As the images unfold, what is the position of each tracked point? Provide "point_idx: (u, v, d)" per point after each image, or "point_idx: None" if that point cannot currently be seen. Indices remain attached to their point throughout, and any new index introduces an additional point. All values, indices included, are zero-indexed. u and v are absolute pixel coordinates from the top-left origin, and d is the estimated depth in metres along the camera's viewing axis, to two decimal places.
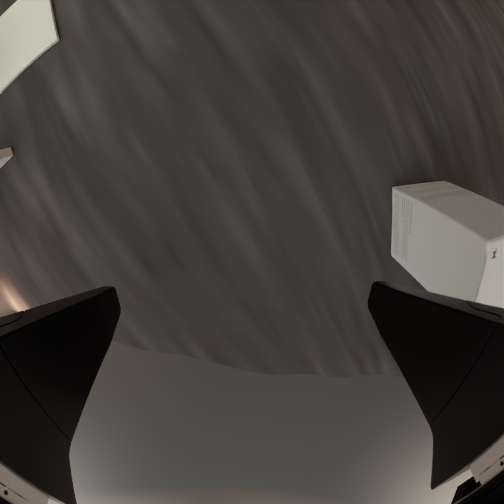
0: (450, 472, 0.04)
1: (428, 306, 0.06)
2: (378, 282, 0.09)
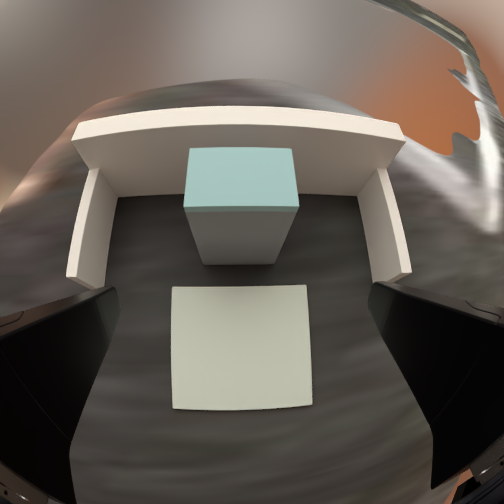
0: (451, 472, 0.04)
1: (428, 306, 0.06)
2: (378, 282, 0.09)
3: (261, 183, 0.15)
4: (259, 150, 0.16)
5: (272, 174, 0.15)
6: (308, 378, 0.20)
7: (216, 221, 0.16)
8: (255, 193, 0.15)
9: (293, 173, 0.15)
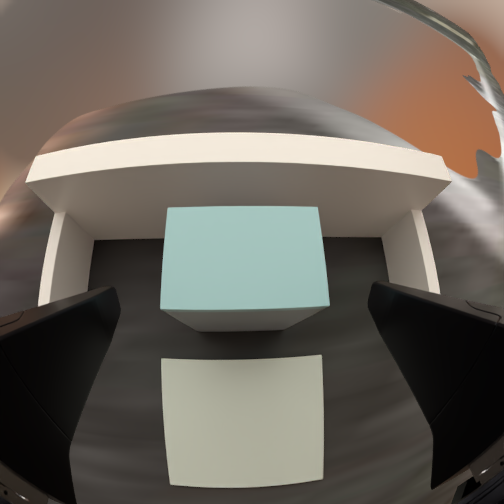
0: (450, 472, 0.04)
1: (428, 306, 0.06)
2: (378, 282, 0.09)
3: (275, 269, 0.10)
4: (271, 212, 0.11)
5: (291, 253, 0.10)
6: (320, 454, 0.15)
7: (209, 316, 0.11)
8: (266, 287, 0.10)
9: (321, 250, 0.10)
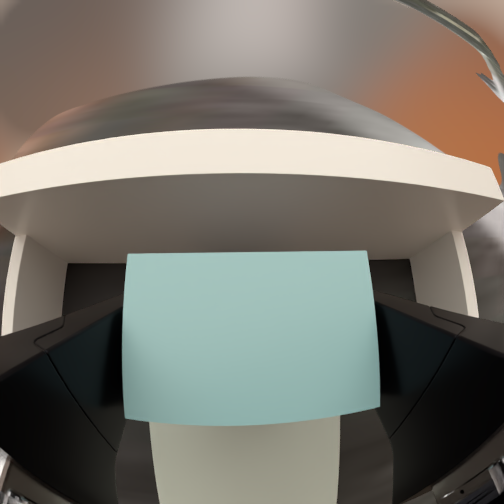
0: (411, 492, 0.04)
1: (385, 312, 0.06)
2: None
3: (302, 362, 0.06)
4: (296, 263, 0.07)
5: (329, 333, 0.06)
6: None
7: None
8: (288, 391, 0.06)
9: (373, 323, 0.06)
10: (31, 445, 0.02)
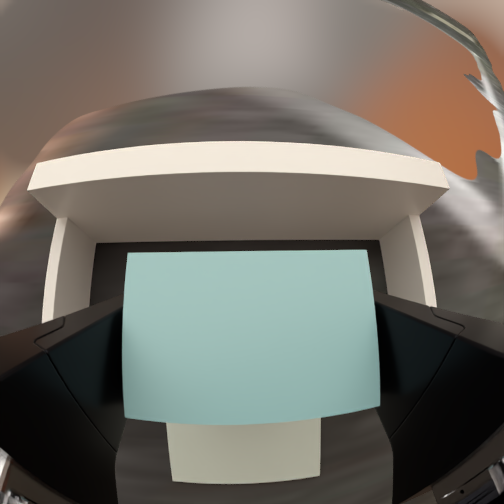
0: (410, 492, 0.04)
1: (385, 311, 0.06)
2: None
3: (302, 361, 0.06)
4: (296, 261, 0.07)
5: (329, 332, 0.06)
6: (317, 452, 0.16)
7: None
8: (288, 390, 0.06)
9: (373, 322, 0.06)
10: (31, 446, 0.02)
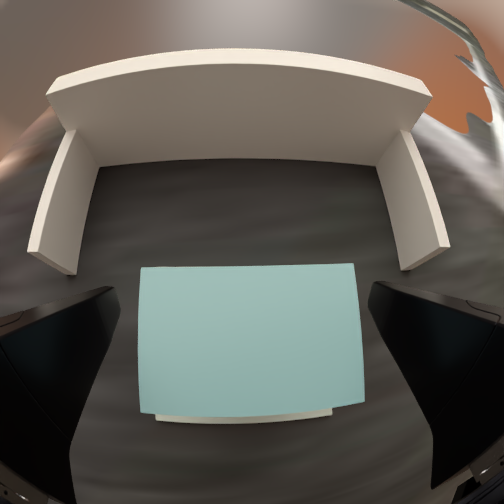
0: (450, 472, 0.04)
1: (428, 306, 0.06)
2: (378, 282, 0.09)
3: (295, 361, 0.07)
4: (289, 275, 0.08)
5: (318, 336, 0.07)
6: None
7: None
8: (283, 387, 0.07)
9: (358, 328, 0.07)
10: None
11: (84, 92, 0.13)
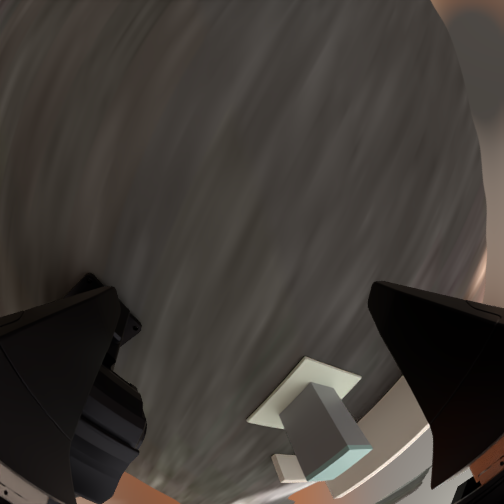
0: (450, 472, 0.04)
1: (428, 306, 0.06)
2: (378, 282, 0.09)
3: (329, 472, 0.20)
4: (343, 471, 0.21)
5: (328, 475, 0.20)
6: (263, 424, 0.29)
7: (330, 445, 0.21)
8: (327, 470, 0.20)
9: (321, 480, 0.20)
10: None
11: None
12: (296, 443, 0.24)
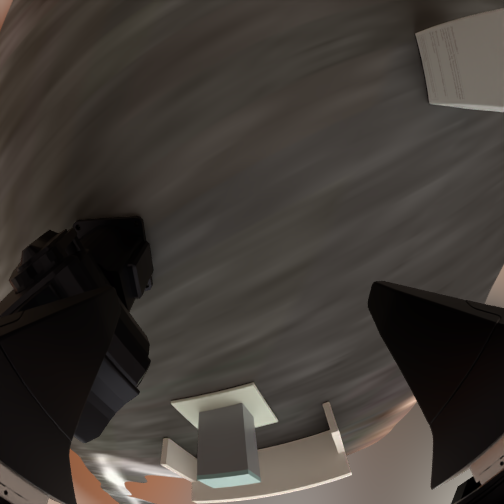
0: (451, 473, 0.04)
1: (428, 306, 0.06)
2: (378, 282, 0.09)
3: (218, 481, 0.22)
4: (227, 486, 0.23)
5: (215, 483, 0.23)
6: (181, 411, 0.31)
7: (233, 462, 0.23)
8: (218, 480, 0.22)
9: (206, 484, 0.23)
10: None
11: (330, 474, 0.30)
12: (203, 444, 0.26)
